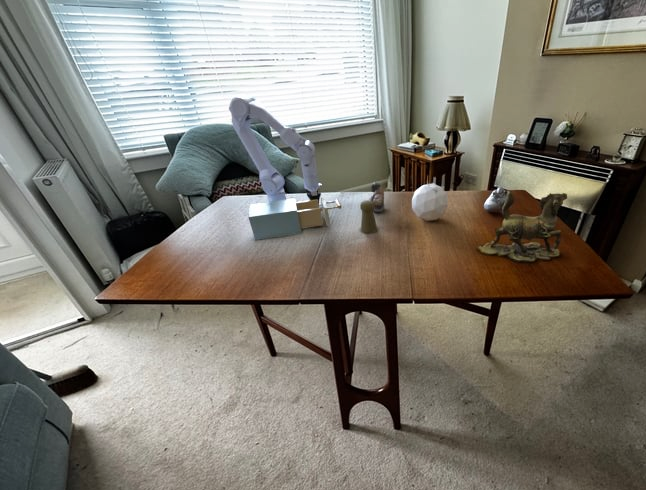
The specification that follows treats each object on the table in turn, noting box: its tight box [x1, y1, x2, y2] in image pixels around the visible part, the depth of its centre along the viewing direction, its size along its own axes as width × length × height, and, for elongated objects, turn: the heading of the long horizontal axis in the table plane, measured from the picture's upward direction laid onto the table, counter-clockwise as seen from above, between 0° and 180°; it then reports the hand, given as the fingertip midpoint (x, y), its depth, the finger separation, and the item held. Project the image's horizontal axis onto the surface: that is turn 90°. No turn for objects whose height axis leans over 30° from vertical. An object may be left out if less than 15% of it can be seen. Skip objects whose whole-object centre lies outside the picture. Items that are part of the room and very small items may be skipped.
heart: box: [483, 186, 510, 213], centre depth 120 cm, size 10×10×12 cm
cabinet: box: [247, 198, 302, 241], centre depth 115 cm, size 17×13×9 cm
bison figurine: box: [369, 181, 385, 213], centre depth 128 cm, size 12×7×10 cm, turn 0°
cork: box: [359, 199, 378, 234], centre depth 112 cm, size 6×6×11 cm
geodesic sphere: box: [411, 183, 449, 222], centre depth 117 cm, size 15×14×14 cm
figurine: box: [477, 190, 568, 264], centre depth 92 cm, size 13×25×20 cm, turn 79°
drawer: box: [296, 197, 342, 229], centre depth 118 cm, size 21×11×7 cm, turn 107°
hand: (315, 206), depth 129 cm, fingers closed on pacifier, 5 cm apart
